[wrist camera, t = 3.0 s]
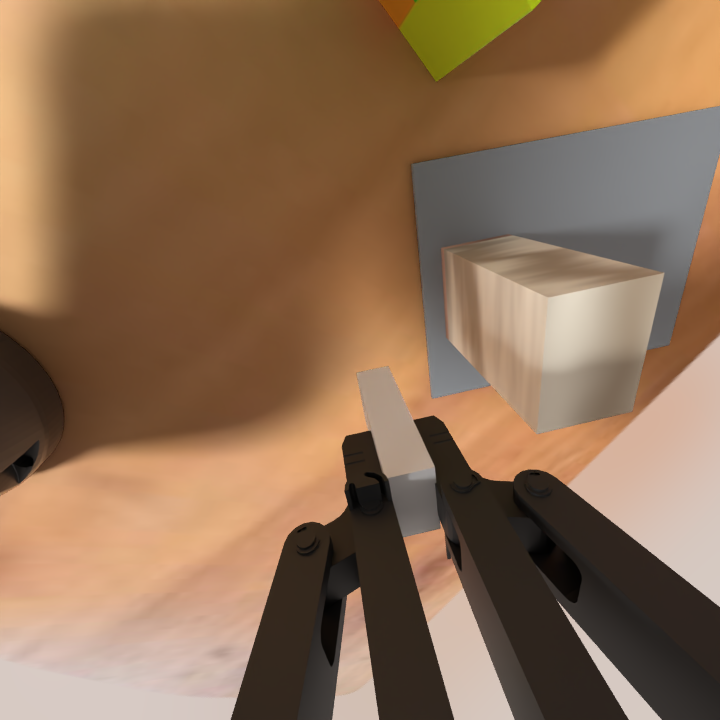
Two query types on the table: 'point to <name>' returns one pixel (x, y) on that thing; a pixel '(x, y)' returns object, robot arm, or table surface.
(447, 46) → the puzzle toy
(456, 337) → the birch block
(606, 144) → the slate mat
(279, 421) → the table surface
